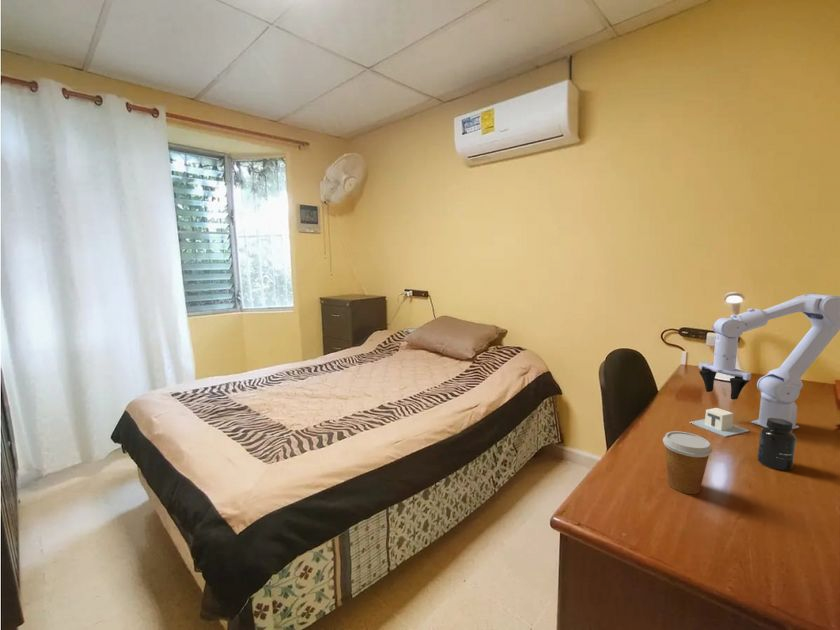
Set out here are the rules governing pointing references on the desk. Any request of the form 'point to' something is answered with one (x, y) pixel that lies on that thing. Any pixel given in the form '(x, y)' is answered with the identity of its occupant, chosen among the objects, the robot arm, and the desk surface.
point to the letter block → (719, 419)
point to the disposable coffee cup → (686, 460)
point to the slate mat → (725, 433)
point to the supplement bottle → (777, 444)
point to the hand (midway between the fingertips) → (721, 395)
